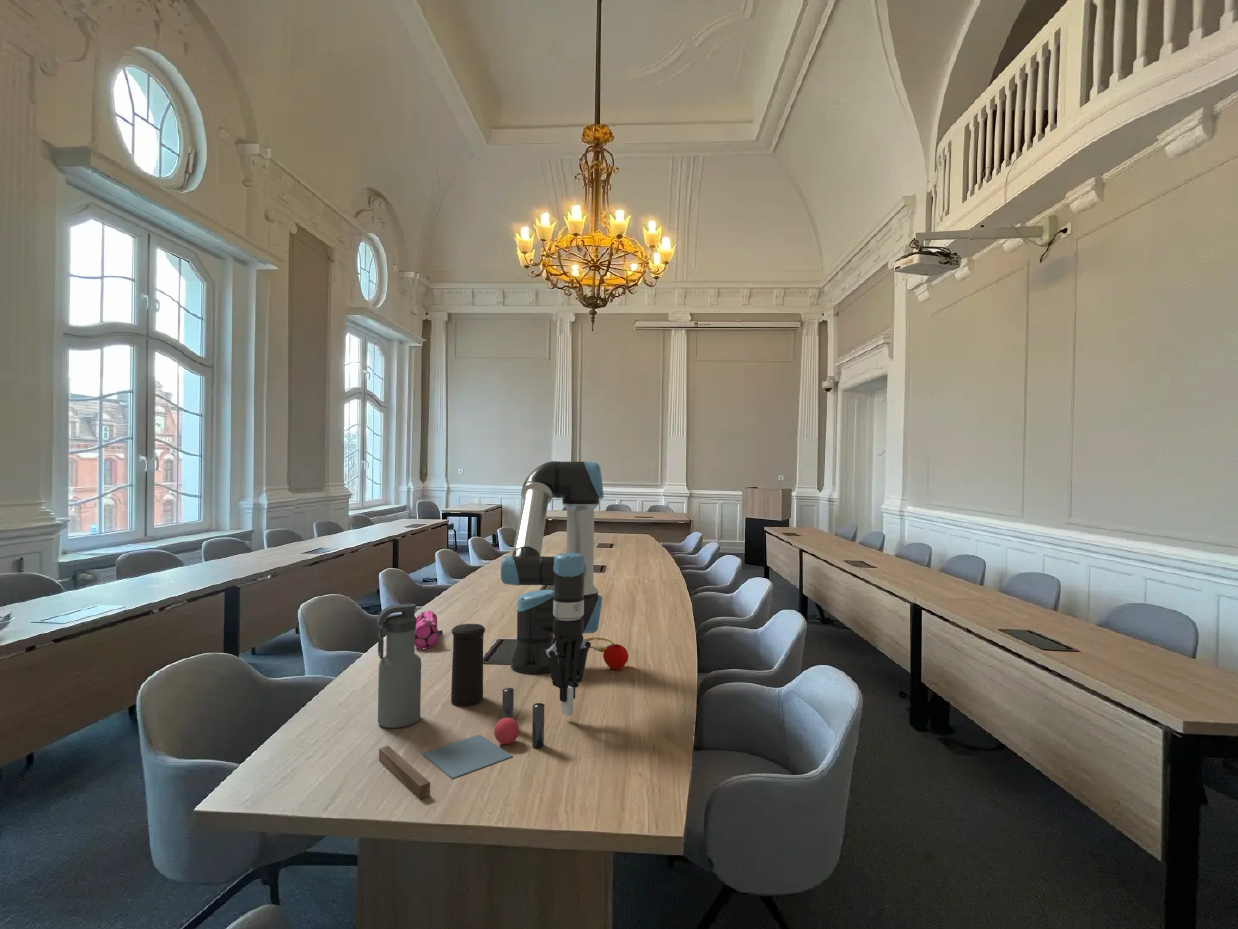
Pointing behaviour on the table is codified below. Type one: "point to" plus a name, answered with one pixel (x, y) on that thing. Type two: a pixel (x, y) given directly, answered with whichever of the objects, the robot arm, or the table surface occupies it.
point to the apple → (615, 656)
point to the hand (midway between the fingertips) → (567, 713)
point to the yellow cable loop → (599, 646)
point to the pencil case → (426, 630)
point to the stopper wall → (404, 772)
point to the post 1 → (508, 703)
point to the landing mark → (466, 756)
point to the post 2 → (538, 726)
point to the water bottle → (398, 668)
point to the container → (467, 664)
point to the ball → (506, 730)
